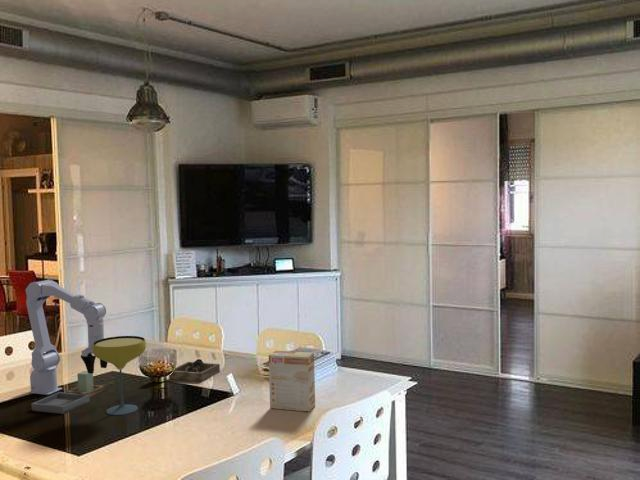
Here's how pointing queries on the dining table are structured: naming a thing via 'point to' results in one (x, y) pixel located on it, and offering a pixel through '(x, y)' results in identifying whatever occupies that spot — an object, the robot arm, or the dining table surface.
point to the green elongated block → (85, 381)
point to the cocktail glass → (119, 361)
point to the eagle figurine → (194, 366)
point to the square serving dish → (206, 373)
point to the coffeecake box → (292, 380)
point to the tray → (60, 402)
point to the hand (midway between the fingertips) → (97, 370)
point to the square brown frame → (96, 390)
